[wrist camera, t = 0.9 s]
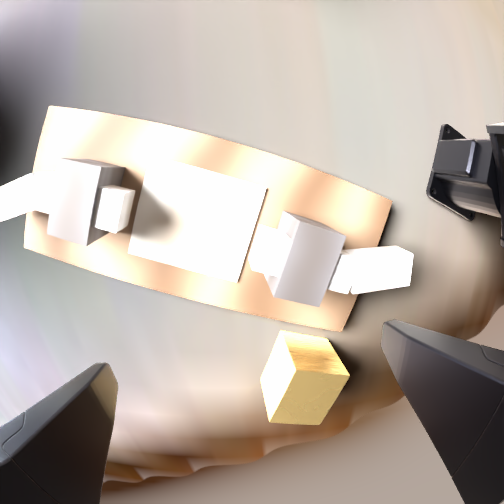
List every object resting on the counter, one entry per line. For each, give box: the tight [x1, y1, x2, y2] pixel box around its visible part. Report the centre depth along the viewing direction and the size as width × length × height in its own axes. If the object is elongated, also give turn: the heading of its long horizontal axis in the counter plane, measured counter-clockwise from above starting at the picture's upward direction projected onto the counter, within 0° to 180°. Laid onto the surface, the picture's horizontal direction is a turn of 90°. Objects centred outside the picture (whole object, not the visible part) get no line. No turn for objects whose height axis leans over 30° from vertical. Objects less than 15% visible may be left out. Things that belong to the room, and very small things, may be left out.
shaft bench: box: [0, 106, 413, 332], centre depth 16 cm, size 26×10×5 cm, turn 73°
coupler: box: [260, 330, 350, 425], centre depth 20 cm, size 4×5×5 cm
